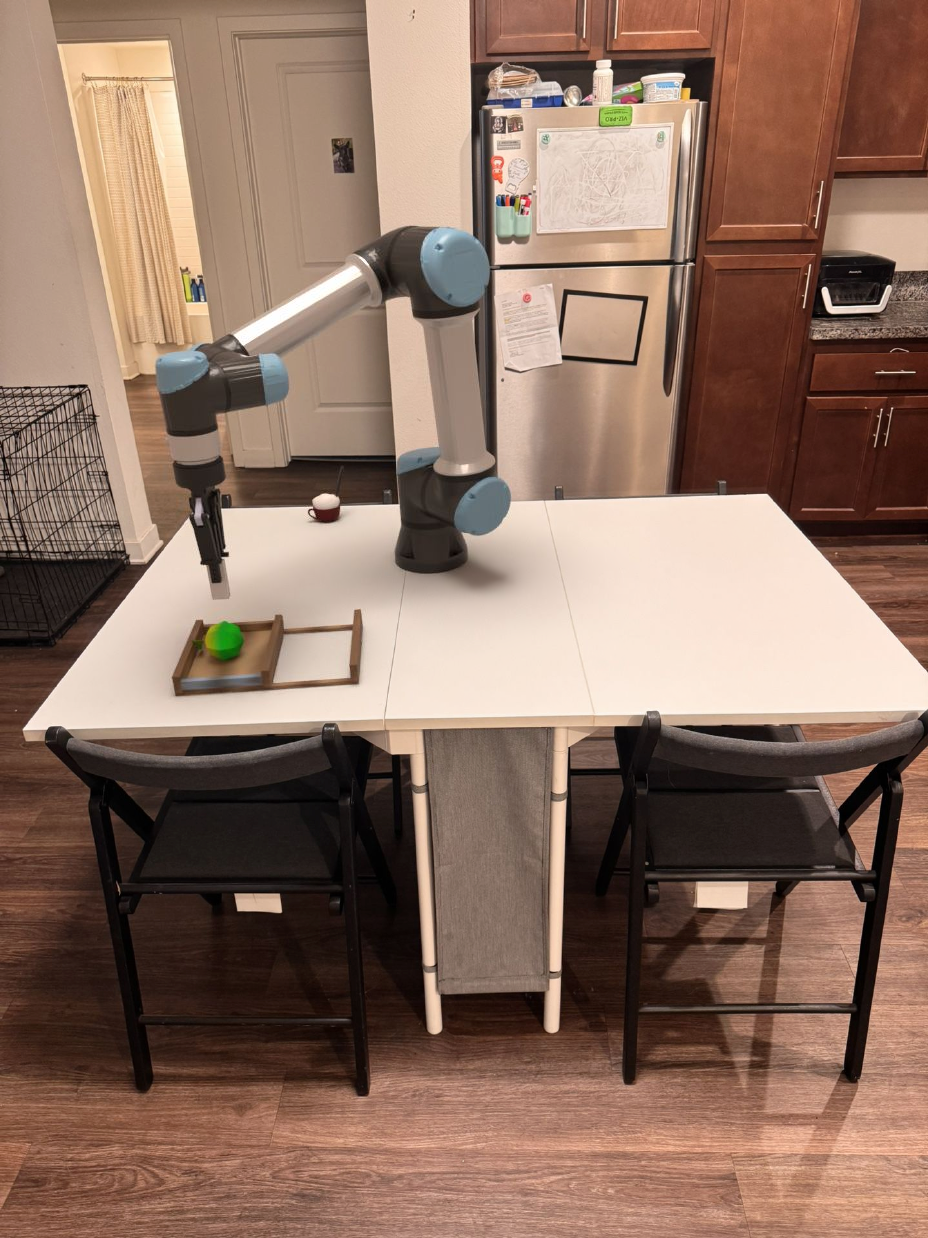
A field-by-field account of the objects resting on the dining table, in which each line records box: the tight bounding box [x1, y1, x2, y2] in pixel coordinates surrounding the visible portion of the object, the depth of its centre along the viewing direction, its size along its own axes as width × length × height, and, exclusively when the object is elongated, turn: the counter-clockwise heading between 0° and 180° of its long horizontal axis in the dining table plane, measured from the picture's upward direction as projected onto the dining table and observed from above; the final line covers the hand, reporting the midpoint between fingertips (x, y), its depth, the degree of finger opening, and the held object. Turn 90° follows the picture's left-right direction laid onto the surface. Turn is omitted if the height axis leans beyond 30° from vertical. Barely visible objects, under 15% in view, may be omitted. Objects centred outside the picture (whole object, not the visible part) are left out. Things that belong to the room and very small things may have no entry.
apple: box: [191, 620, 244, 661], centre depth 156 cm, size 7×6×9 cm
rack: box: [171, 608, 364, 697], centre depth 157 cm, size 29×20×4 cm
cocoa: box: [307, 465, 345, 523], centre depth 214 cm, size 10×6×12 cm, turn 91°
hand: (221, 597), depth 151 cm, fingers closed
